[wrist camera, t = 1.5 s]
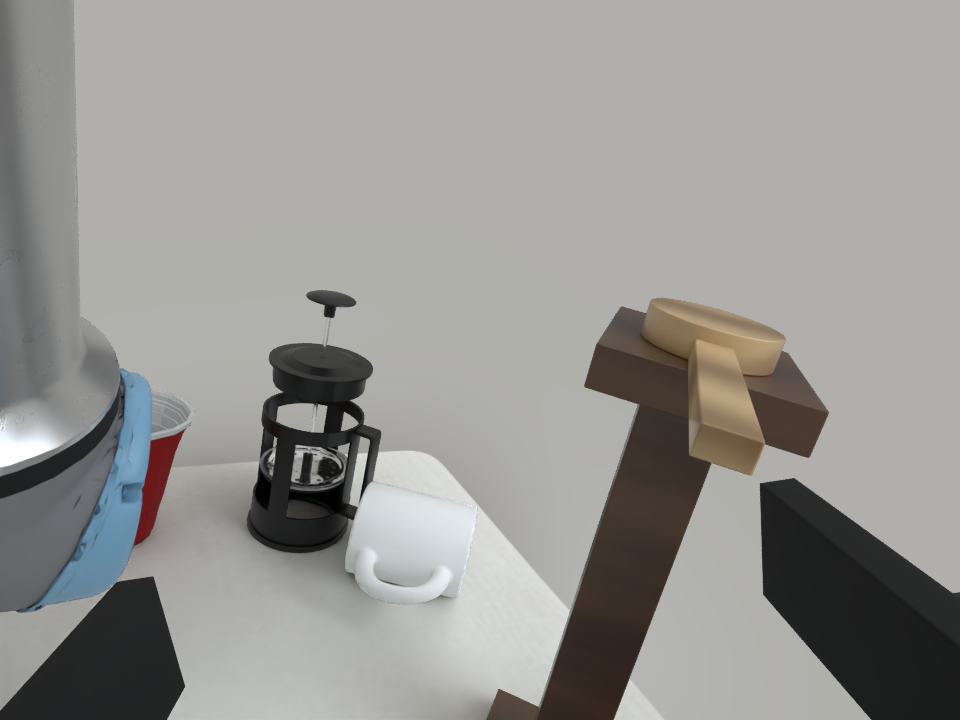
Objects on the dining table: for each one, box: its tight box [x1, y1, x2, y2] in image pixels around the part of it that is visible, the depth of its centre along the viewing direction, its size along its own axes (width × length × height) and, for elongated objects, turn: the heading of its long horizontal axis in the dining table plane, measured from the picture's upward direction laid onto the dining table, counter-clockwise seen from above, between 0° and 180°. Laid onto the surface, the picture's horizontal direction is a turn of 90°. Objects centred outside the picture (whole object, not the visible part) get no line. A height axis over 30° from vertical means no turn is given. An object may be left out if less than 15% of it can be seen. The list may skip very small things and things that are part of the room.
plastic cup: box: [133, 388, 195, 546], centre depth 51 cm, size 11×11×12 cm
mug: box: [345, 481, 478, 605], centre depth 52 cm, size 12×10×8 cm
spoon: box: [641, 298, 786, 475], centre depth 23 cm, size 16×6×2 cm, turn 160°
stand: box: [487, 307, 829, 720], centre depth 33 cm, size 11×10×30 cm
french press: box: [247, 290, 381, 552], centre depth 55 cm, size 12×9×23 cm
